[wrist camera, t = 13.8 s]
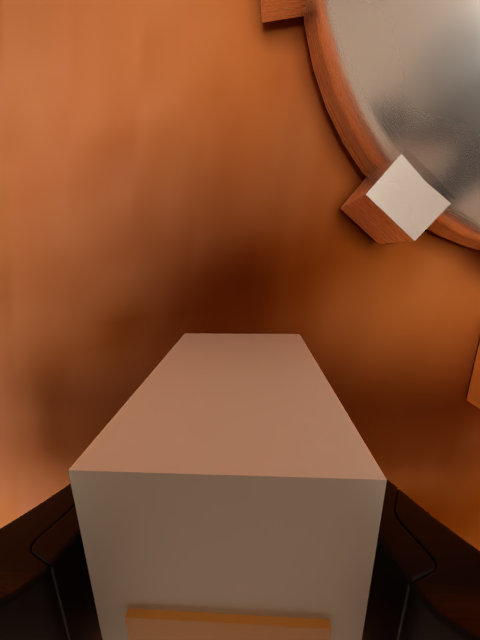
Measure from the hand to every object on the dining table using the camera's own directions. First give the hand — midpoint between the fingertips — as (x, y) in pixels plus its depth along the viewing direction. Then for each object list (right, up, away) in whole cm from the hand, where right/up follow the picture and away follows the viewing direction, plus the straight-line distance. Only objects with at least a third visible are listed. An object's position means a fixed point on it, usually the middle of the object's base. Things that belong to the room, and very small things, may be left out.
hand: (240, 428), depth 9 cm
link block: (0, 0, +1) cm, 1 cm away
